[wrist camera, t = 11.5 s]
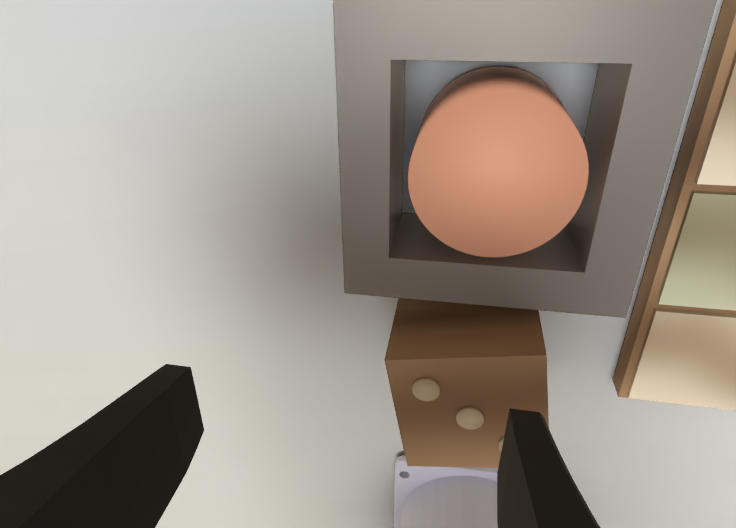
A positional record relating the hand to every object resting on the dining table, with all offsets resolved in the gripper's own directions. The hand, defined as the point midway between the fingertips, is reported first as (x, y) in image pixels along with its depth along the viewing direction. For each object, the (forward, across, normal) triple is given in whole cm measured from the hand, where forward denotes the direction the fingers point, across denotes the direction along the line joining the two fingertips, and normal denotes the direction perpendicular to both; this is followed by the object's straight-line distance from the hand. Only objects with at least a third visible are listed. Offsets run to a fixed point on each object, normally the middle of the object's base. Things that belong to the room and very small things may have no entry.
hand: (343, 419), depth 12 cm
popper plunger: (+9, -3, -4) cm, 10 cm away
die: (+10, -3, +4) cm, 11 cm away
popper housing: (+10, -3, -4) cm, 11 cm away
